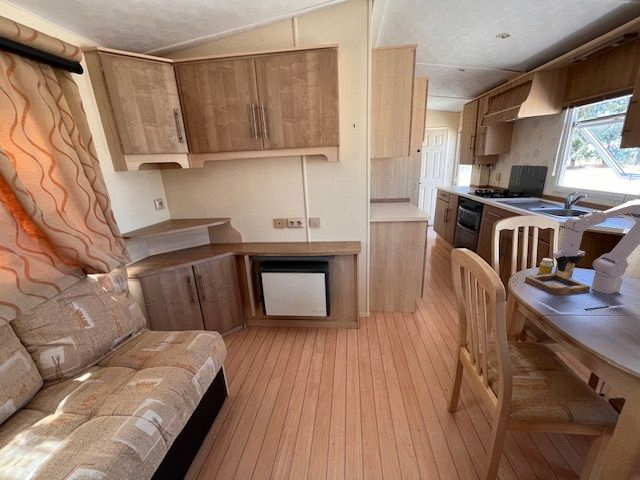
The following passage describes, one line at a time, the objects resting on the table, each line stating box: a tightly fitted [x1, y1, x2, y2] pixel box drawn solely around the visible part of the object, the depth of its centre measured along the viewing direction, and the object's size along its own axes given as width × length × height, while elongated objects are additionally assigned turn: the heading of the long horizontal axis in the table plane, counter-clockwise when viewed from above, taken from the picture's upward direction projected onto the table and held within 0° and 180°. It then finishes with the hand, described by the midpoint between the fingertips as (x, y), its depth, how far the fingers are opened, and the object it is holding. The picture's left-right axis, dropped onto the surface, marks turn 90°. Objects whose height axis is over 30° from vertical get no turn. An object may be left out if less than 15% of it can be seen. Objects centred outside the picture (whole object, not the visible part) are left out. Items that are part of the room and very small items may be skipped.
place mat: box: [584, 305, 610, 311], centre depth 115 cm, size 11×11×1 cm
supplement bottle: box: [537, 257, 554, 275], centre depth 141 cm, size 5×5×10 cm
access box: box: [524, 272, 592, 296], centre depth 128 cm, size 18×16×4 cm
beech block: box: [556, 262, 576, 279], centre depth 123 cm, size 4×4×7 cm
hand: (565, 270), depth 123 cm, fingers closed on beech block, 4 cm apart
